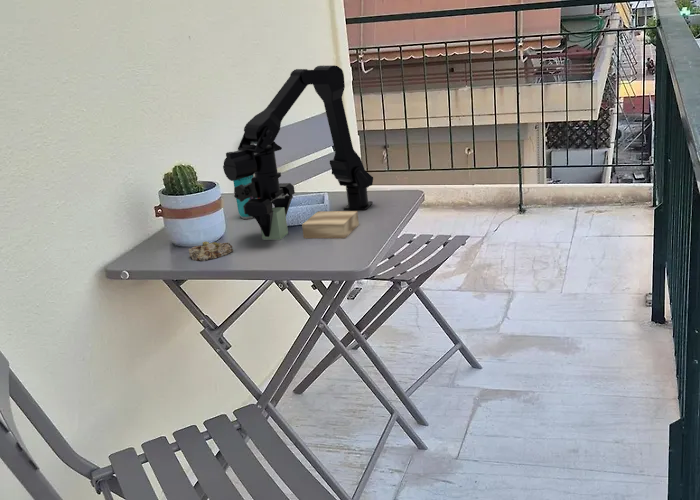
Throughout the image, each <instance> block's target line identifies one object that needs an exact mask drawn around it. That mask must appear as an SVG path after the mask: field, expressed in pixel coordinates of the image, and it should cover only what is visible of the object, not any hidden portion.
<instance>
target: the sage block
mask: <svg viewBox="0 0 700 500" xmlns="http://www.w3.org/2000/svg"><path fill="white" fill-rule="evenodd" d="M271 211H273V218H272V224H271V231H270V236H269V237H265V235H264V233H263V231H262V230H261V229H260V232H261V239H262V240H263V241H264V240H267V241H268V240H270V241H271V240H272V241H275V240H276V241H281V240H283V238H285V237H286V236H287V235H288V234H289V230H288V223H287V215H285V208H284V207H276V208H275V207H272V210H271Z"/></svg>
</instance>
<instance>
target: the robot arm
mask: <svg viewBox="0 0 700 500" xmlns="http://www.w3.org/2000/svg"><path fill="white" fill-rule="evenodd" d="M309 85H312V86H313V88H314V90H315V93H316V94H317V95H318V96H319V98H320V99H321V100H322V102H323V104H324V105H323V106H324V110H325V115H326V119H327V123H328V127H329V131H330V135H331V139H332V145H333V147H334V156H333V159H330V160H329V164H330V168H331V175H333V176H334V178H335V179H336V180H337V182H338V184H339V186H343V187H345V190H346V198H347V199H346V200H347V205H345V207H344V208H343V211H358V210H362V211H363V210H367V209H368V208H369V207H371V206H372V204H373V201H372V200H371V201H369V195H368V188H369V187H371V186H373V182H374V176H372V175H371V174H370V173H369V172H368V171H366V170H365V167H364V164H363V161H362V158H361V156H360V155H359V154H358V153H357V152H356V151H355V149H354V146H353V142H352V139H351V138H352V137H351V133H350V129H349V125H348V119H347V116H346V112H345V111H346V110H345V106H344V102H343V94H344V91H345V88H346V86H345V75H344V71H343V69H342V68H341V67H339V66H338V65H335V64H334V65H317V66H316V67H314V68H313V69H307V68H296V69H293V70H292V71H291V72H290V75H289V77H288V78H287V79H286V82H285V83H283V85H282V86H281V88H280V89H279V91H277V93H276V94H275V96H274V97H273V98H272V100H271V101H270V103H269V104H268V105H267V107H266V108H264V109H263V110H262V111H261V112H259V113H257V114H255V115H254V116H253V117H252V118H251V119H250V120H249V121H248V122H246V124H245V126H244V127H243V132H244V133H243V135H242V138H241V139H240V142H239V144H238V147H237V150H236V151H235V150H234V151H227V152H226V153H225V157H226V158H224V161H223V166H222V168H223V172H224V174H225V177H226V178H227V179H228V180H229V181H232V182H233V181H234V180H238V179H241V178H245V177H248V176H252V175H253V176H254V177H253V178H252V179H251V183H249V184H247V185H245V186H243V185H242V184H241V185H239V186H237V187H235V188H234V187H233V193H234V199H236V198H237V199H239V200H240V202H242V201H244V200H245V199H247V198H249V197H252V196H253V198H260V199H251V200H250V201H248V202H247V203H246V204H245V205H244V206H243V208H244V214H248V216H252V217H254V218H253V219H255V221H256V222H257V224H258V226H259V227H260V231H261V230H262V231H263V233H264V235H265V237H269V236H270V231H271V224H272V218H273V211H271V210H272V208H276V207H284V208H285V215H286V216H287V215H288V212H289V209H290V205H291V202H292V200H293V199H294V196H293V195H294V194H296V192H295V186H294V185H293V184H292V183H290V182H289V183H288V182H287V183H286V182H282V183H280V180H279V178H281V177H282V173H281V172H280V171H279V172H278V167H277V165H278V164H277V160H276V154H275V152H278V151H281V150H283V149H282V146H280V145H279V144H277V143H276V139H277V137H278V134H279V133H280V131H281V126H282V124H281V123H282V121H283V119H284V117H285V116H286V115H287V113H289V111H290V110H291V108H292V107H293V106H294V104H295V103H296V101H297V100H298V99H299V97H300V96H301V95H302V94H303V92H304V90H305V89H306V88H307V86H309ZM273 206H274V207H273Z"/></svg>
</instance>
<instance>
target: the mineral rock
mask: <svg viewBox="0 0 700 500" xmlns="http://www.w3.org/2000/svg"><path fill="white" fill-rule="evenodd" d="M233 251H234V249H233V245H231V243H230V242H216V241H215V242H209V241H205V240H204V241H203V242H202V245H196V246H193V247H191V248H188V252H189V257H190V258H191V260H193V261H197V262H206V261H209V259H210V260H214V259H218V258H222V257H225V256H227V255H228V254H231V253H232V252H233Z"/></svg>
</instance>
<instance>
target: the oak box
mask: <svg viewBox="0 0 700 500" xmlns="http://www.w3.org/2000/svg"><path fill="white" fill-rule="evenodd" d="M358 213H359V212H358V210H338V211H337V210H336V211H335V210H334V211H327V210H326V211H322V210H320V211H317V212H316V213H314V214H313V215H311V216H310V218H308V219H307V220H306V221H305V222H303V223H302V224H301V227H302V228H301V229H302V235H303V239H346V238H347V237H348V236H349V235H350V234H351V233H352V232H353V231H354V230H355V229H356V228H358V226H359V225H360V223H359V222H360V221H359V214H358Z"/></svg>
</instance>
